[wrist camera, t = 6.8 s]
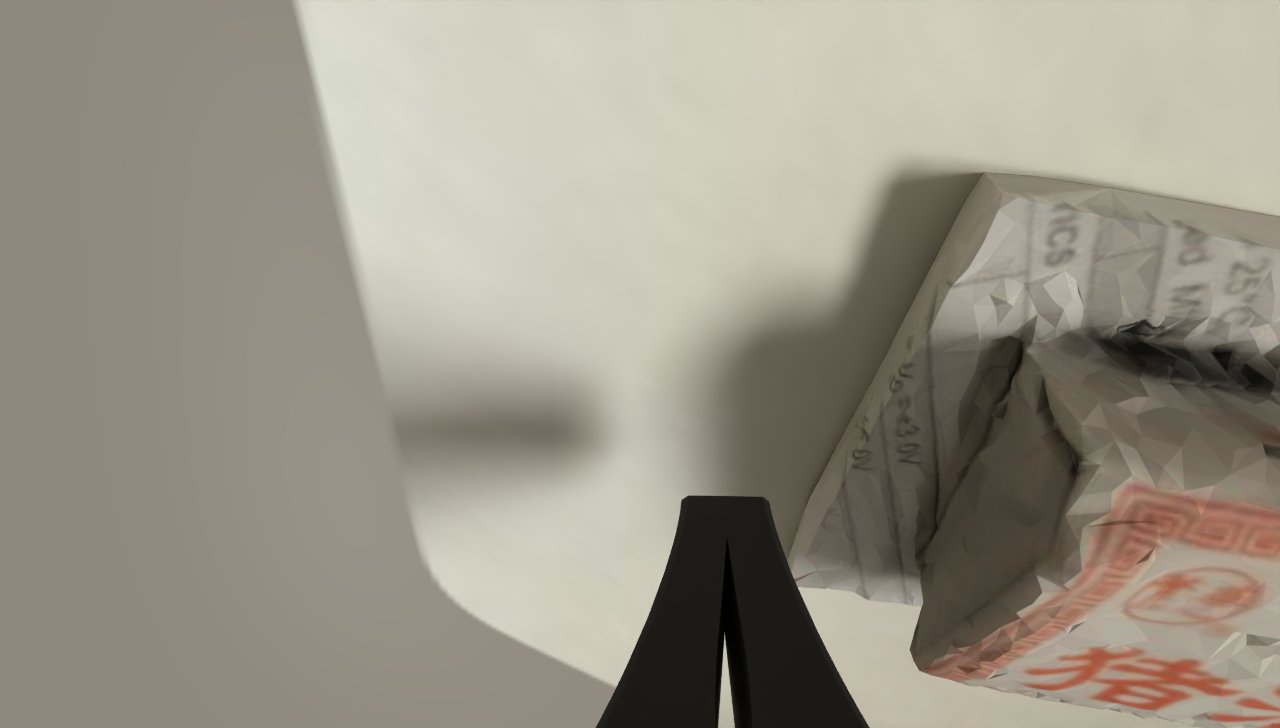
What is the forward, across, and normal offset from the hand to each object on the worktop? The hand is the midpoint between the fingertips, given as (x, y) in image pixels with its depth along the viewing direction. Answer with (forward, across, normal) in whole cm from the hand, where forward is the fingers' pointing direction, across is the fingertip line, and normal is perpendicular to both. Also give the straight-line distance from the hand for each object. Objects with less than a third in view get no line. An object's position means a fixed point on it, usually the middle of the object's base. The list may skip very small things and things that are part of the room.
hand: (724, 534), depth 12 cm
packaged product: (+3, -11, +1) cm, 12 cm away
